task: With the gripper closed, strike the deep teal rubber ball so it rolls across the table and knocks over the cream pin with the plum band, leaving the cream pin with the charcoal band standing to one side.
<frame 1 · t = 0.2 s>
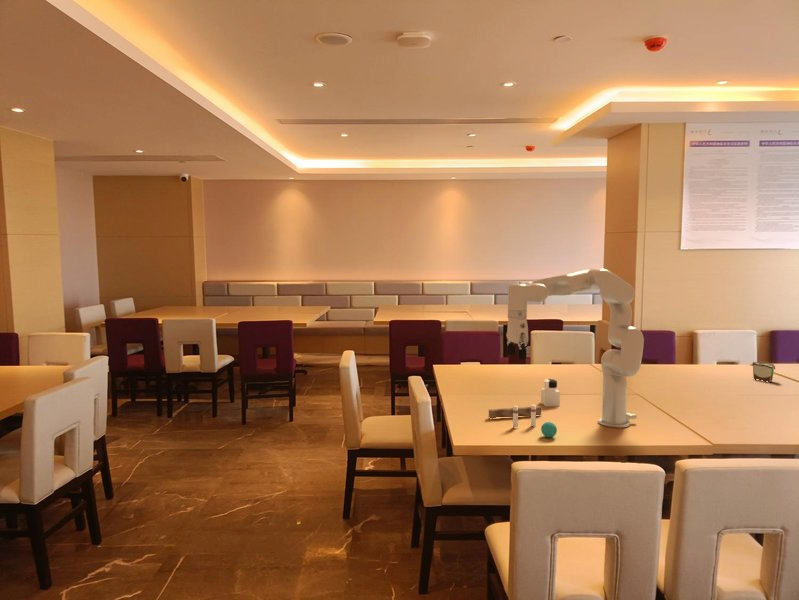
hand: (516, 356, 220), 31 cm above the table, tool pointing down, fingers open, 9 cm apart
medicine bottle: (550, 404, 262), on the table
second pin: (515, 427, 227), on the table
food container: (765, 381, 308), on the table
back wall: (515, 417, 242), on the table
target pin: (533, 426, 228), on the table
ball: (548, 429, 214), on the table
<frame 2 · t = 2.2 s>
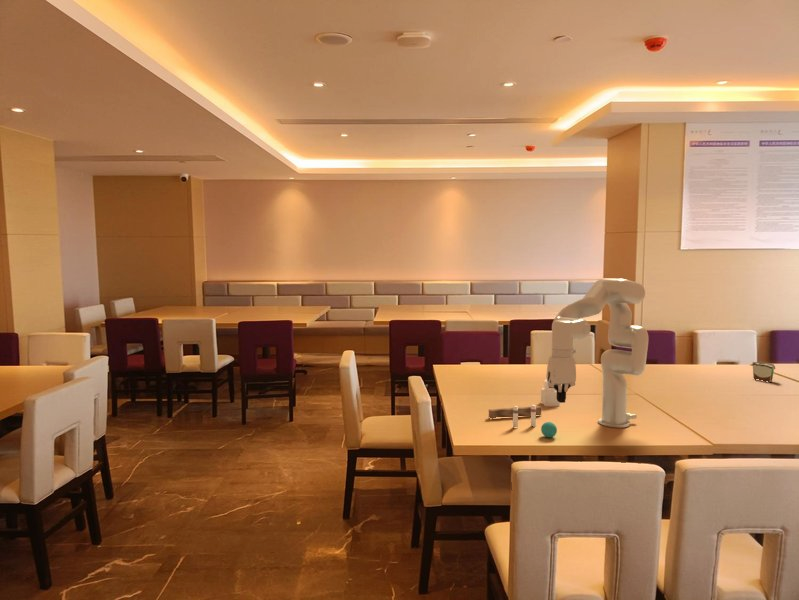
hand: (561, 401, 204), 17 cm above the table, tool pointing down, fingers closed
nothing on the table moved.
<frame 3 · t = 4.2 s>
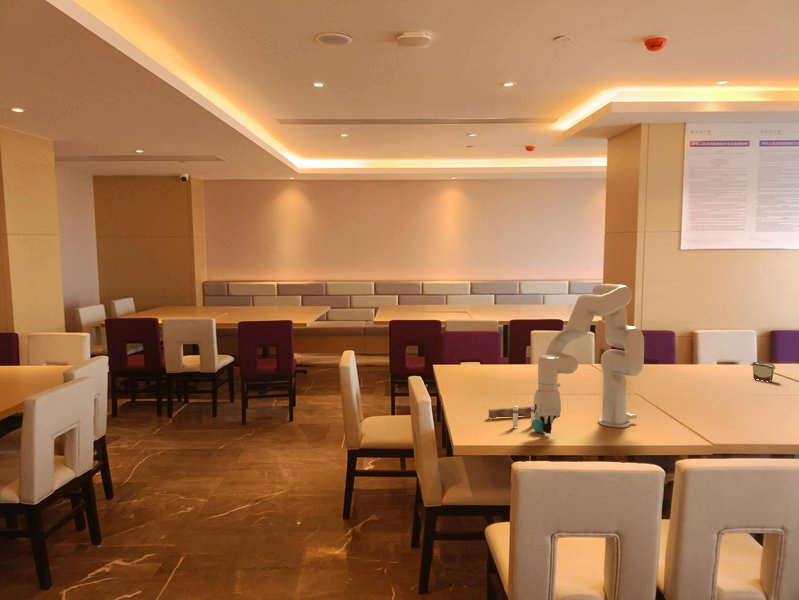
hand: (547, 432, 216), 1 cm above the table, tool pointing down, fingers closed
ball: (539, 424, 221), on the table
everything else where it was.
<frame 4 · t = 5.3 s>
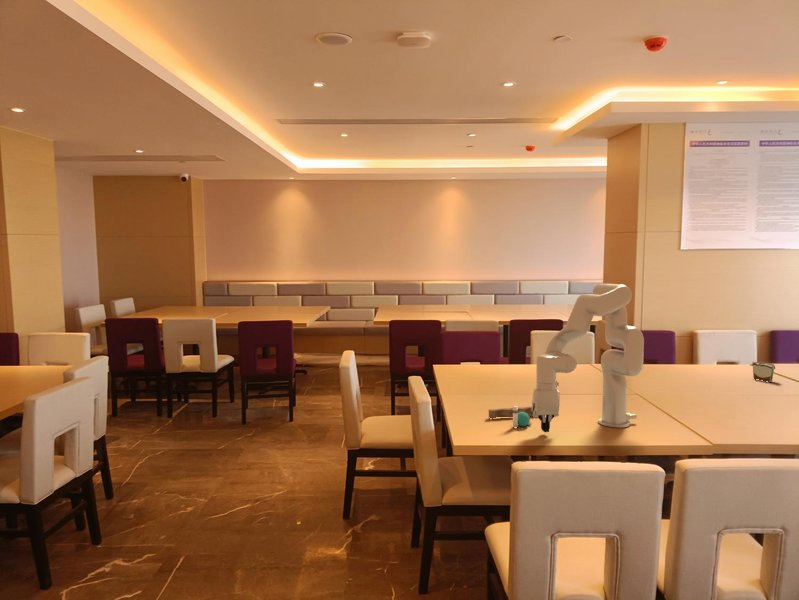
hand: (545, 431, 218), 2 cm above the table, tool pointing down, fingers closed
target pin: (529, 423, 230), point 1 cm above the table, tilted 90°, touching ball
ball: (522, 419, 229), on the table, touching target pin
everything else where it was.
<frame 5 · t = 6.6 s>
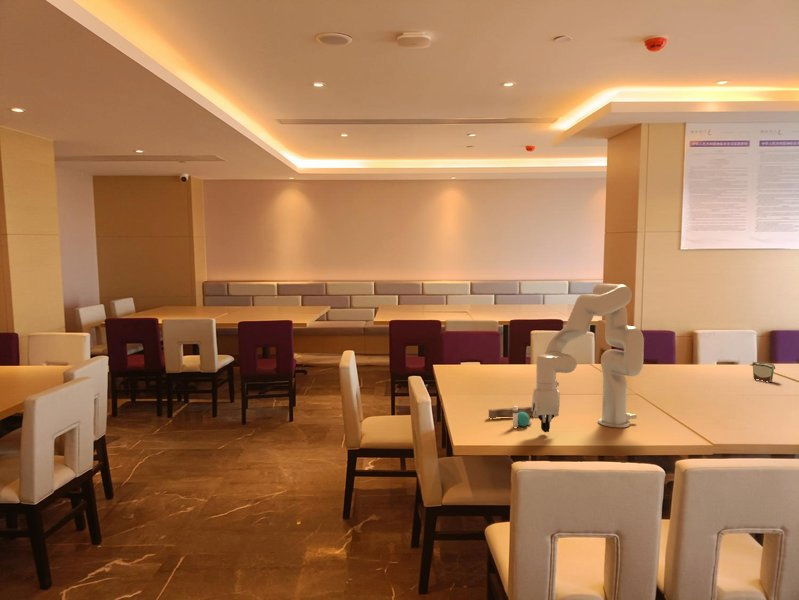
hand: (545, 431, 218), 2 cm above the table, tool pointing down, fingers closed
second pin: (515, 427, 227), on the table, touching ball
ball: (522, 419, 229), on the table, touching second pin, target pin
everything else where it was.
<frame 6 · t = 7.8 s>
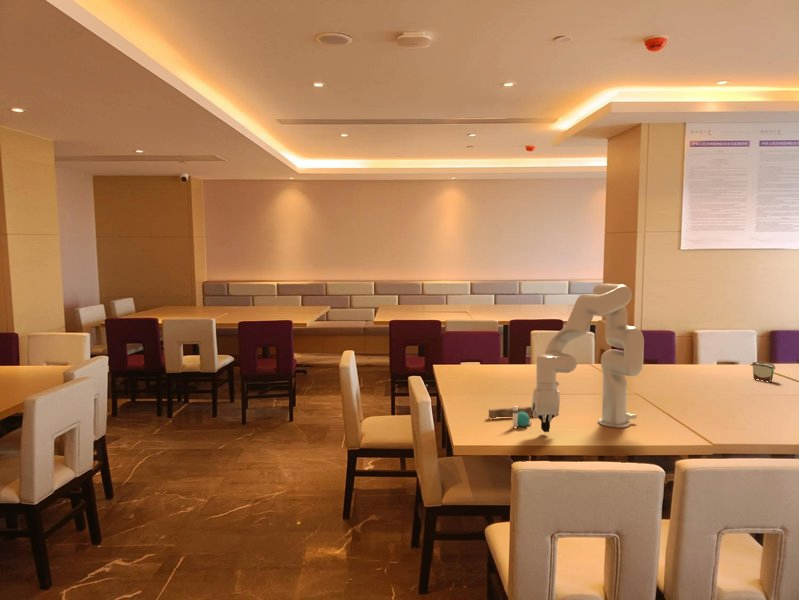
hand: (545, 431, 218), 2 cm above the table, tool pointing down, fingers closed
nothing on the table moved.
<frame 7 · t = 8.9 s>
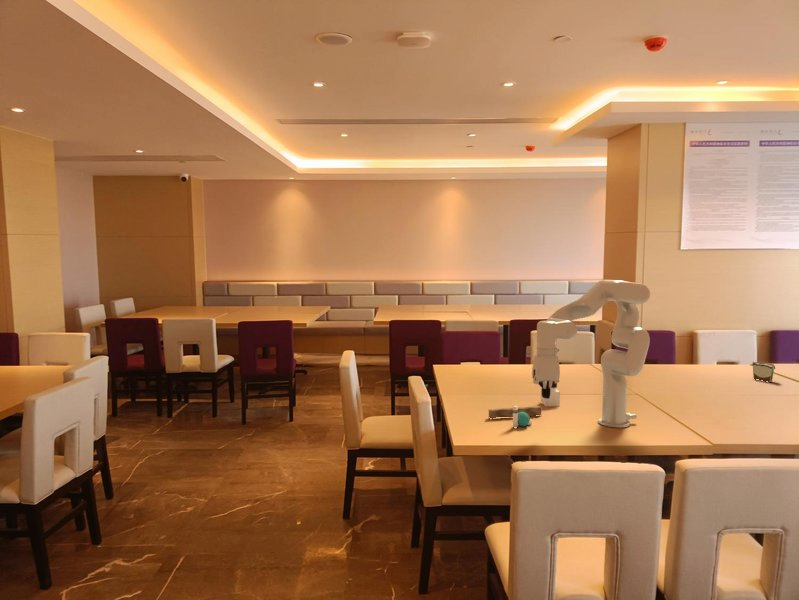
hand: (545, 397, 216), 15 cm above the table, tool pointing down, fingers closed
nothing on the table moved.
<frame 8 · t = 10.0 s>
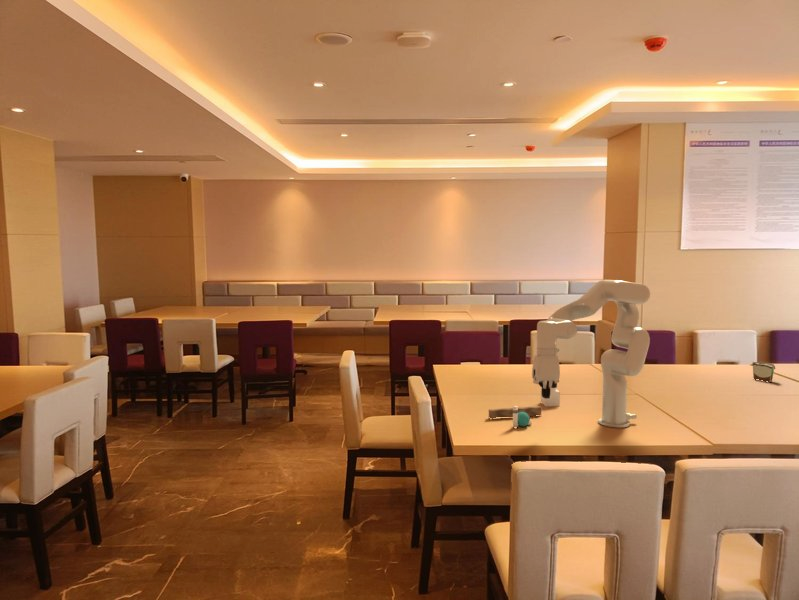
hand: (545, 397, 216), 15 cm above the table, tool pointing down, fingers closed
nothing on the table moved.
at the end: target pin tilted 90°; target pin never touched the robot; ball moved 16.1 cm from its start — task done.
